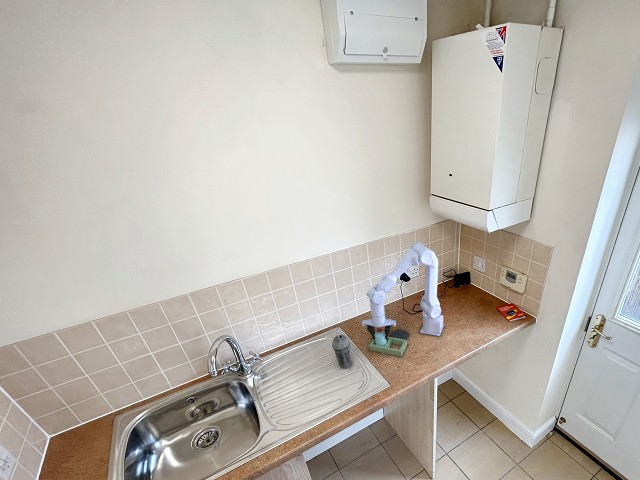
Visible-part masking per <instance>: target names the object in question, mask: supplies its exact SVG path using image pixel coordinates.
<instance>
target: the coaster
mask: <svg viewBox="0 0 640 480" xmlns="http://www.w3.org/2000/svg"><path fill="white" fill-rule="evenodd" d="M390 337H392V338H398V339H403V340H408V338H409V332H407V330H404V329H396V330H394V331H392V333H391V335H390Z"/></svg>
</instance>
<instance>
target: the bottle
mask: <svg viewBox="0 0 640 480" xmlns="http://www.w3.org/2000/svg"><path fill="white" fill-rule="evenodd" d="M375 342H376V345H378V346H383V347H385V345H386V344H387V340H386V337H385V330H384V329H383V328H382V327H378V328H377V329H376V331H375Z"/></svg>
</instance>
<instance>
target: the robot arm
mask: <svg viewBox="0 0 640 480" xmlns="http://www.w3.org/2000/svg"><path fill="white" fill-rule="evenodd" d="M421 265H424V266H425V267H424V295H422V296H421V300H420V303H419V307H420V309H421V310H422V327H421V329H420V334H424V335H425V334H427V335H431V336H437V337H440V336H441V335H442V334H441V333H442V332H443V330H444V315H443V314H441V313H442V308H441V305H440V301H439V299H438V279H439V278H438V277H439V275H438V274H439V259H438V257H437V255H436V253H435V252H434V250H431V249H429V248H428V246H426V245H424V244H423V243H421V242H415V243H413V244H411V246H410V247H409V248H408V249H406V253H405V255H404V256H403V258H402V259H401V260H400V261H399V262H398V263H397V265H396V266H395V267H394V268H393V269H392V271H391V272H388V273H385V274H384V275H382V276H381V278H380V279H379V281H378V282H376V283H375V284H374V285H373V286H371V287H369V288H368V290H367V292H366V296H367V297H368V298H369V309H370V315H371V318H368V319H363V320H362V321H361V327H366V330H367V331H368V332H369V334H370V336H371V337H372V340H373V339H375V332H376V330H375V329H376V328H383V327H384V329H383V331H385V337H386V340H387V339H388V337H389V333H390V331H391V329H392V328H391V327H393V328H395V327H396V326H397V321H396V320H395V319H394V320H393V319H389V318H386V312H385V306H384V305H385V300H386V296H387V294H388V293H389V292H390V291H391V290H392V289H393V288H394V286H395V285H397V282H398V279H399V277H400V276H402V275H403V274H404V273H405V272H407V270H408V269H409V268H410V267H411V266H415V267H416V266H418V267H419V266H421Z"/></svg>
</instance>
